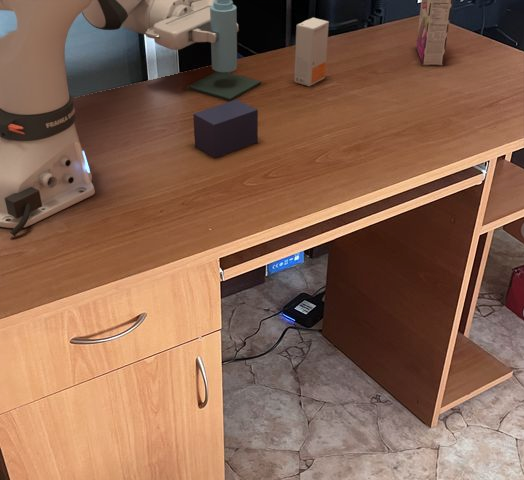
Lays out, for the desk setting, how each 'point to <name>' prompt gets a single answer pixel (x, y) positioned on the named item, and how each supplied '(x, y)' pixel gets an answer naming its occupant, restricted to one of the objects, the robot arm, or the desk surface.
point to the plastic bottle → (224, 35)
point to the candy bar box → (433, 31)
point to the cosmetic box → (311, 51)
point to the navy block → (225, 128)
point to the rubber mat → (224, 85)
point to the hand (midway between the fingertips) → (226, 33)
